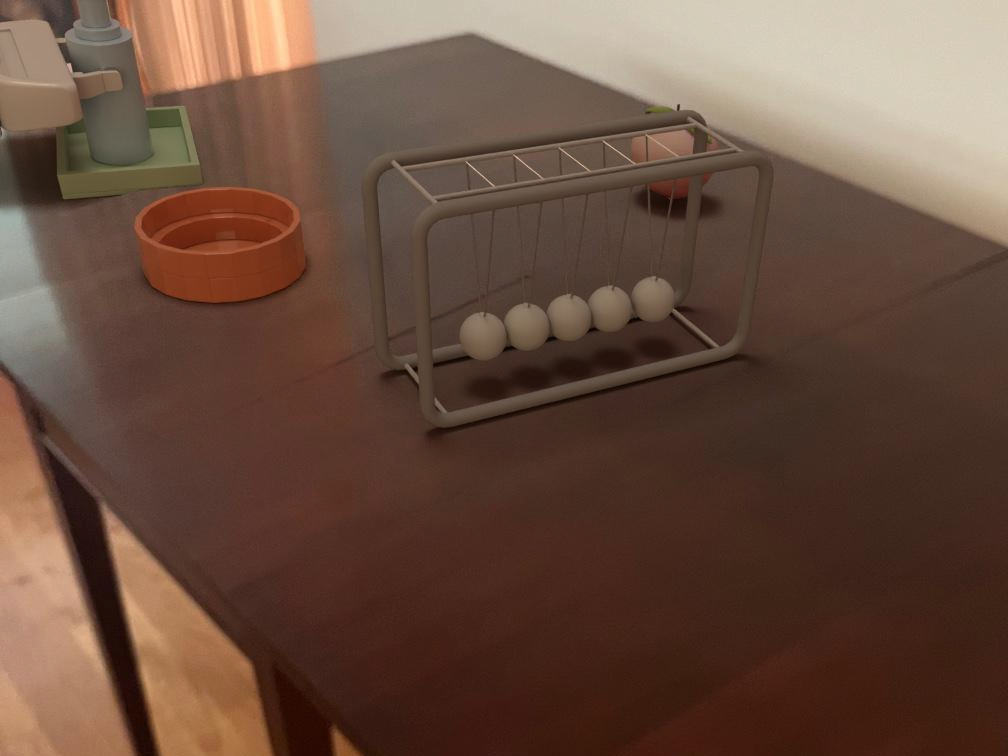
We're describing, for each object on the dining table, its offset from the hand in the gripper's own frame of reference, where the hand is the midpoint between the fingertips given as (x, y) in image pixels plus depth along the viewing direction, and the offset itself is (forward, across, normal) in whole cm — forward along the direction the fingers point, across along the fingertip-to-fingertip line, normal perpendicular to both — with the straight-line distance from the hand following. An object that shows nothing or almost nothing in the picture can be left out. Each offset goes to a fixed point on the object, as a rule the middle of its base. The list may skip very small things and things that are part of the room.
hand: (113, 64), depth 119 cm
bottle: (-1, 0, -9) cm, 9 cm away
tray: (0, +1, -10) cm, 10 cm away
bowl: (+3, +30, -8) cm, 31 cm away
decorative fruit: (+50, +30, -8) cm, 59 cm away
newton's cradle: (+25, +56, -7) cm, 62 cm away
